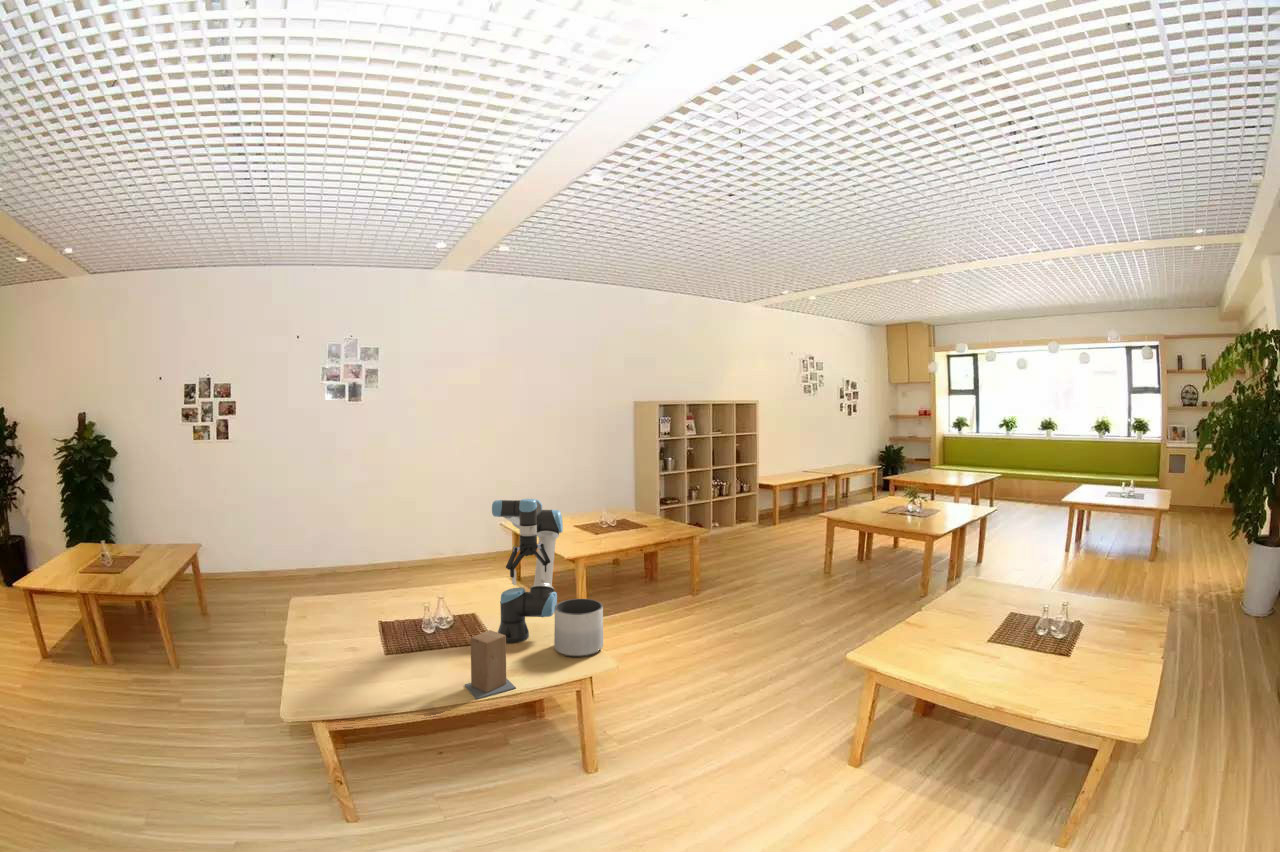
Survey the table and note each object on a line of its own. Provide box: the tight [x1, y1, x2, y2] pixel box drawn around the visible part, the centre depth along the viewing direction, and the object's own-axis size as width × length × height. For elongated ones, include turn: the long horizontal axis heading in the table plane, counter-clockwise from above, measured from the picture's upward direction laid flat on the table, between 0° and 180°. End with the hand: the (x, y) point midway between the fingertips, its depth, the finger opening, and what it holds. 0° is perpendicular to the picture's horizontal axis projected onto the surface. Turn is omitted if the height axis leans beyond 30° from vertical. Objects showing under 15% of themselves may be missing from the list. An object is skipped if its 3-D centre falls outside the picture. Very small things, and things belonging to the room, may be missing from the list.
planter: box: [553, 598, 604, 658], centre depth 283 cm, size 23×23×20 cm
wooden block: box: [470, 629, 507, 693], centre depth 245 cm, size 10×10×20 cm
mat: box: [464, 677, 516, 701], centre depth 245 cm, size 14×16×1 cm
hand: (528, 582), depth 270 cm, fingers open, 13 cm apart
